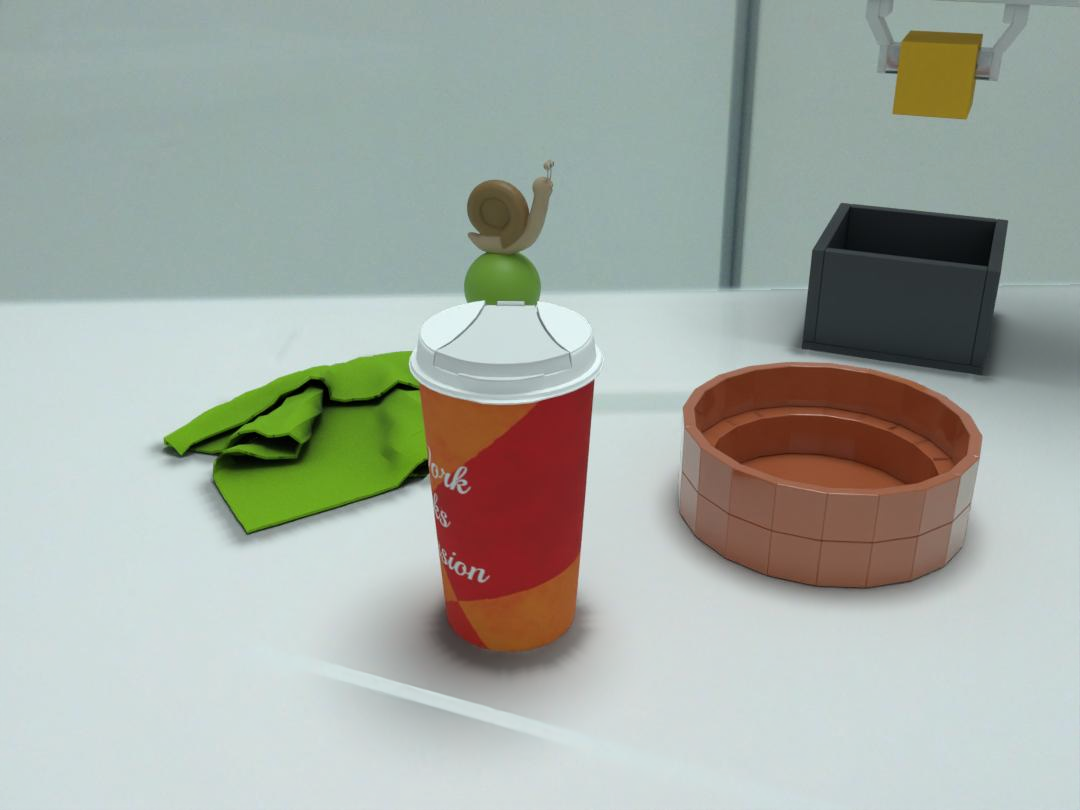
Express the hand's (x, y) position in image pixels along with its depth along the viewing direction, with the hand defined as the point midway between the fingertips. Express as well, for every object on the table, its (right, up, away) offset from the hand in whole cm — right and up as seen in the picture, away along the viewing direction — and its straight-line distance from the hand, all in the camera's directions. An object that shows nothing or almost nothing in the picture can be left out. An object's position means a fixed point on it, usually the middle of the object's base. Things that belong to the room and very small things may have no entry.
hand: (936, 75), depth 73 cm
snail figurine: (-27, -15, +9) cm, 33 cm away
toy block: (0, -2, +1) cm, 2 cm away
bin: (0, -16, +8) cm, 18 cm away
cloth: (-36, -23, -6) cm, 43 cm away
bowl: (-11, -27, -14) cm, 32 cm away
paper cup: (-26, -31, -22) cm, 46 cm away
